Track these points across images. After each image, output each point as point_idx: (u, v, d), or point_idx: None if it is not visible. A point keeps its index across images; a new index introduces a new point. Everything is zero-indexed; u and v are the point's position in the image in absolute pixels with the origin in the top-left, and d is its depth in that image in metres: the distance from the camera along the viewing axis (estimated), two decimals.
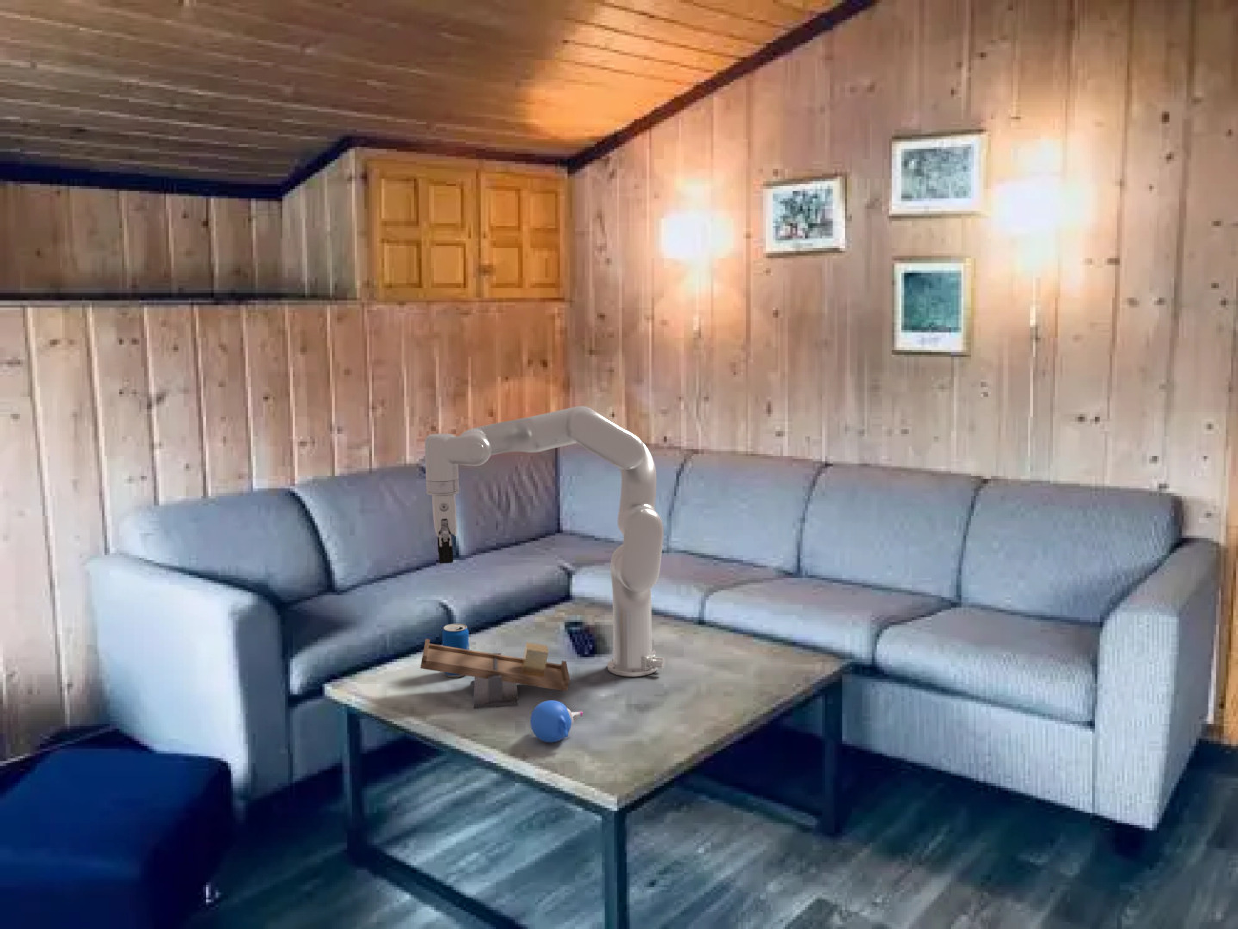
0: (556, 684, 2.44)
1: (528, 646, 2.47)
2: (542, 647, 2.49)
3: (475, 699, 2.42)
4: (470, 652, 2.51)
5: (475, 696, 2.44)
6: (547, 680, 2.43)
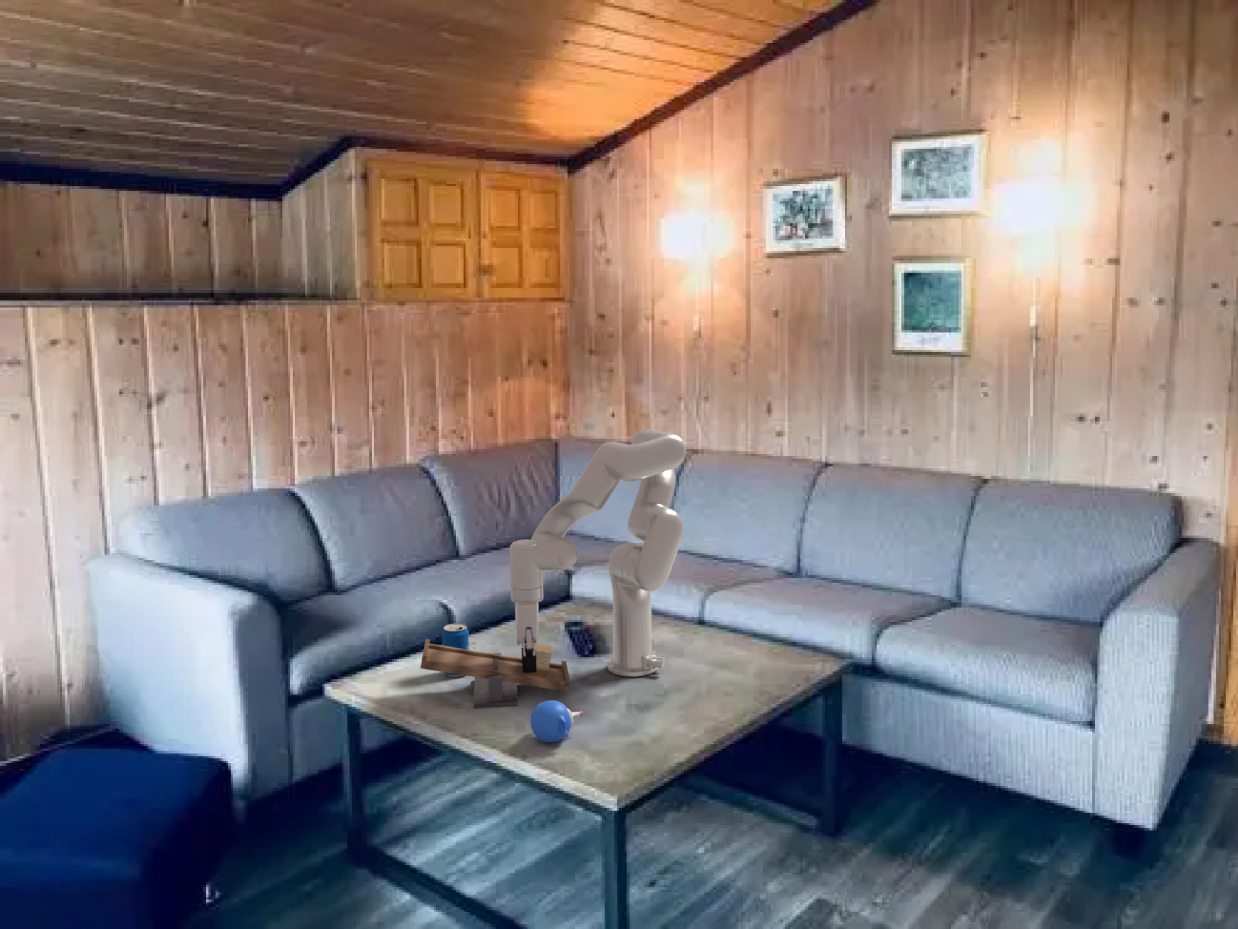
0: (556, 684, 2.44)
1: None
2: (545, 648, 2.49)
3: (475, 699, 2.42)
4: (470, 652, 2.51)
5: (475, 696, 2.44)
6: (547, 680, 2.43)
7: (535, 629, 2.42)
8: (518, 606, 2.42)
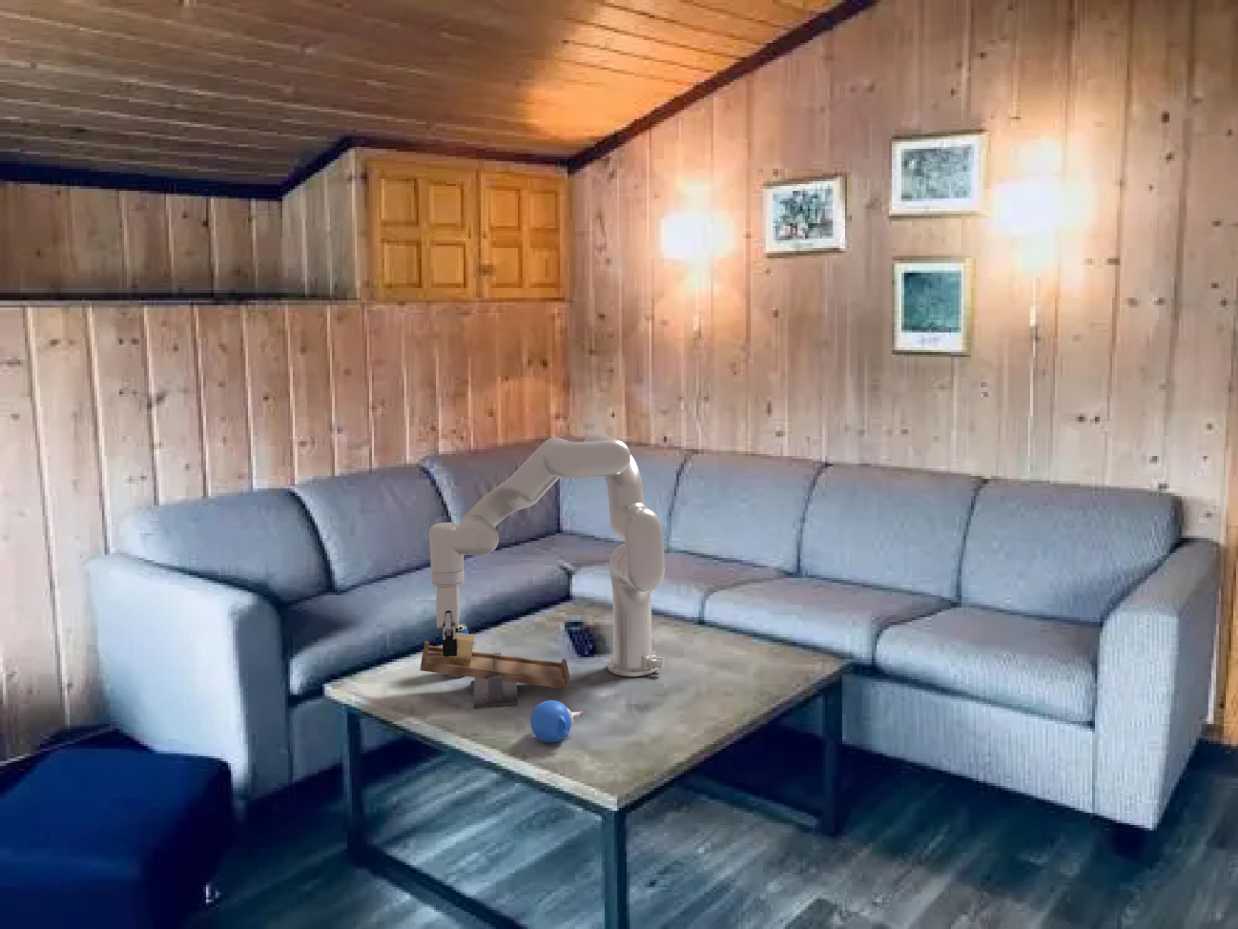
0: (556, 682, 2.44)
1: None
2: (468, 636, 2.46)
3: (475, 699, 2.42)
4: None
5: (475, 696, 2.44)
6: (547, 678, 2.43)
7: (455, 613, 2.39)
8: (437, 589, 2.39)
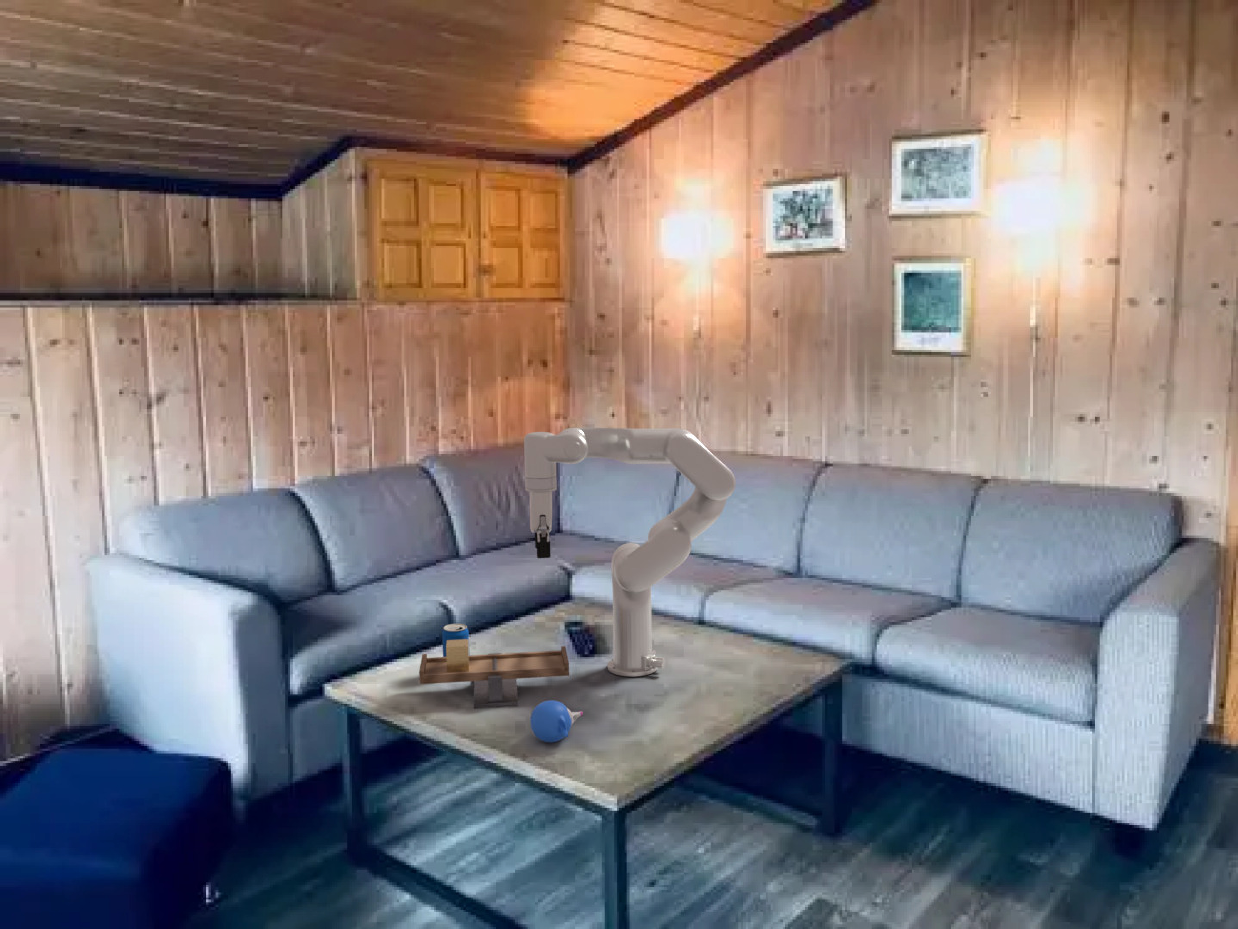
0: (557, 671, 2.43)
1: (448, 643, 2.45)
2: (462, 641, 2.46)
3: (475, 699, 2.42)
4: None
5: (475, 696, 2.44)
6: (547, 669, 2.43)
7: (549, 517, 2.50)
8: (532, 494, 2.50)
